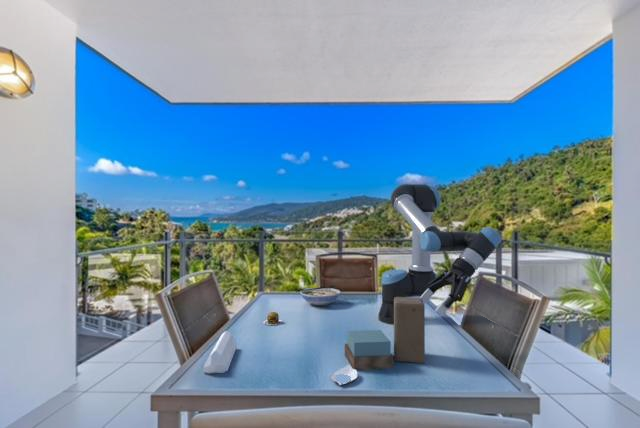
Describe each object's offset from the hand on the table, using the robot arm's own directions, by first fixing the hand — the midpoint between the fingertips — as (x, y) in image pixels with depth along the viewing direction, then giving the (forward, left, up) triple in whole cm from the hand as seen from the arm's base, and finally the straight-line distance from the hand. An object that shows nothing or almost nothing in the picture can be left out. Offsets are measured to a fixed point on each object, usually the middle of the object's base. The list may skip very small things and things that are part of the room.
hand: (428, 308), depth 123 cm
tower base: (+22, 0, -17) cm, 28 cm away
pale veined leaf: (+33, +11, -18) cm, 39 cm away
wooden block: (+7, -1, -17) cm, 18 cm away
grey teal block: (+22, 0, -13) cm, 25 cm away
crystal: (+71, -9, -17) cm, 73 cm away
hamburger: (+52, -50, -18) cm, 74 cm away
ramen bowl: (+25, -80, -17) cm, 86 cm away
